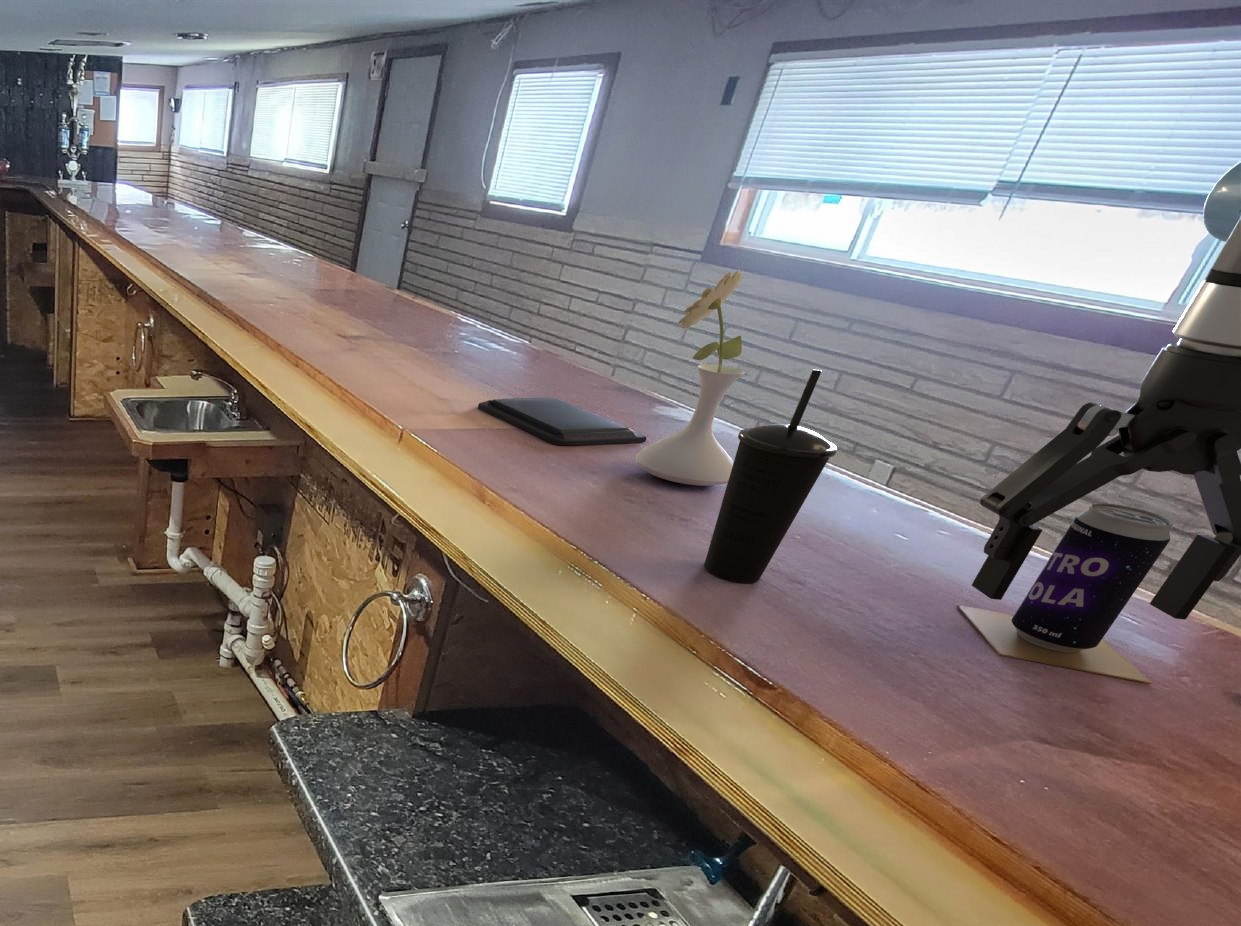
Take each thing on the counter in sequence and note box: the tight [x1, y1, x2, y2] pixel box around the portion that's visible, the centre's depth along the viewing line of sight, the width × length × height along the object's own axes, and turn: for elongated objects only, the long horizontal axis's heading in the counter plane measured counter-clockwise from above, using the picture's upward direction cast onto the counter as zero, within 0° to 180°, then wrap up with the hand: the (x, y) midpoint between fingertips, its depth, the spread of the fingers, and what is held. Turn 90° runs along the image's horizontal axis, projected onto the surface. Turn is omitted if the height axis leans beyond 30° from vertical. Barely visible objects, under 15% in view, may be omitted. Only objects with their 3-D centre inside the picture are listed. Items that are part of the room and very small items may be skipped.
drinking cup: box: [703, 368, 838, 584], centre depth 83 cm, size 8×8×20 cm
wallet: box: [477, 397, 648, 446], centre depth 133 cm, size 20×2×15 cm
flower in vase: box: [634, 269, 746, 487], centre depth 107 cm, size 13×11×25 cm
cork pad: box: [956, 604, 1152, 684], centre depth 78 cm, size 10×10×1 cm
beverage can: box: [1011, 502, 1174, 653], centre depth 75 cm, size 6×6×12 cm
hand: (1074, 602), depth 76 cm, fingers open, 13 cm apart
